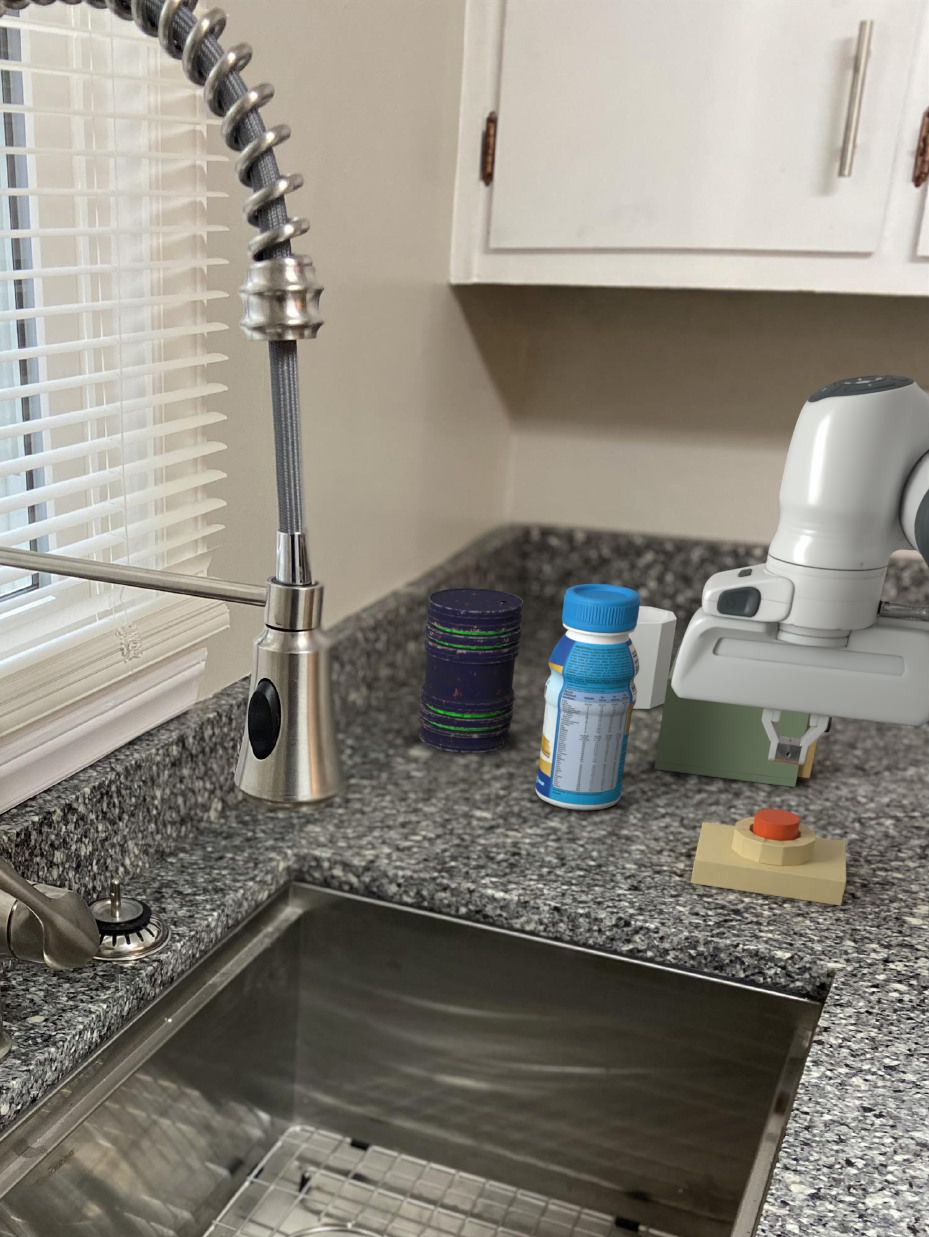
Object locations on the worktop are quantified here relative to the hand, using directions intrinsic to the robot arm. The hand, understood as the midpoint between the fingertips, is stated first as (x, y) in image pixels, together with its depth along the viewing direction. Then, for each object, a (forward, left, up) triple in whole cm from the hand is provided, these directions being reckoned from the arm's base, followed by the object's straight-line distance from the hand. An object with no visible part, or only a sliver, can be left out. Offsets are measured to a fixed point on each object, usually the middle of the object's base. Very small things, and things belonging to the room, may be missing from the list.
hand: (786, 760), depth 120 cm
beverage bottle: (+18, -12, -11) cm, 24 cm away
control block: (0, 0, -10) cm, 10 cm away
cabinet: (+5, -29, -10) cm, 31 cm away
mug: (+19, -46, -11) cm, 51 cm away
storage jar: (+32, -25, -11) cm, 42 cm away
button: (0, 0, -7) cm, 7 cm away
